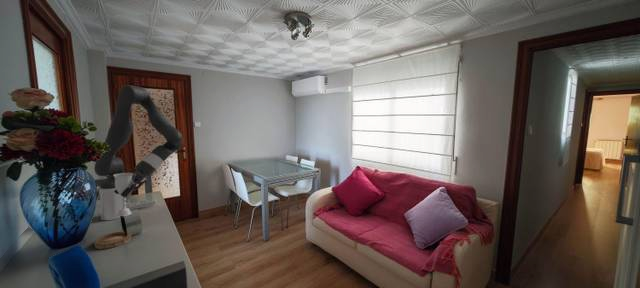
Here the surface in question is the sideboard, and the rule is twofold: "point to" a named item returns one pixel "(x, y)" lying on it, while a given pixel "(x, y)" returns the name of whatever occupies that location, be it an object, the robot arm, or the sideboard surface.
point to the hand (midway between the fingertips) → (119, 194)
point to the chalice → (121, 184)
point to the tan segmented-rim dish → (112, 240)
